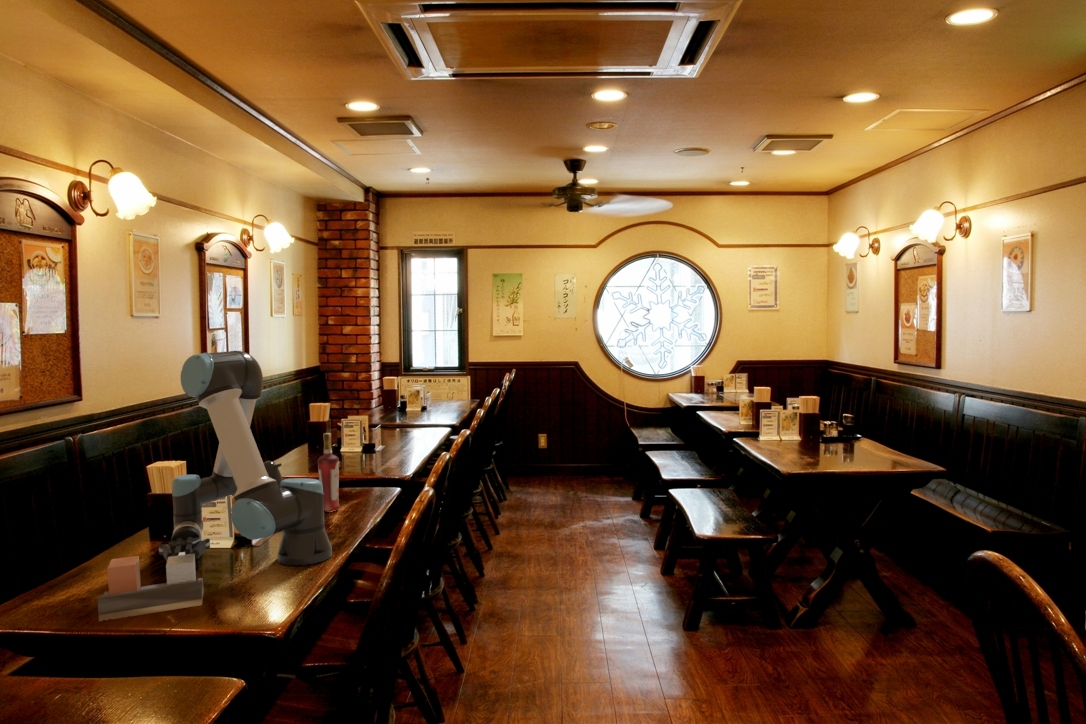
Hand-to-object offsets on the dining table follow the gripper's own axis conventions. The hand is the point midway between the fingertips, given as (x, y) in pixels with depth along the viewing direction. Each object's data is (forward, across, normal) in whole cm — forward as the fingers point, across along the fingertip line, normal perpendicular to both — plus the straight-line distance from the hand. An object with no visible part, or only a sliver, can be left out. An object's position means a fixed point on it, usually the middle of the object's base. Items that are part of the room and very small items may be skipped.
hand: (180, 565), depth 187 cm
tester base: (+4, +6, -8) cm, 11 cm away
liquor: (-65, -44, -8) cm, 79 cm away
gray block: (+4, 0, -6) cm, 7 cm away
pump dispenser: (-91, -25, -9) cm, 94 cm away
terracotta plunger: (-1, +13, -6) cm, 14 cm away
